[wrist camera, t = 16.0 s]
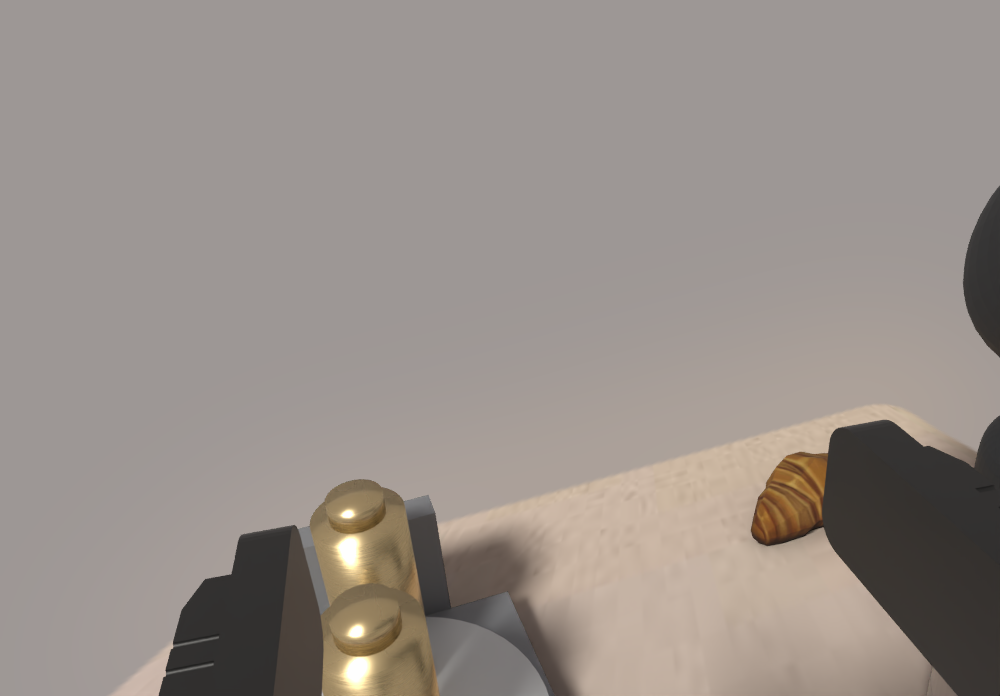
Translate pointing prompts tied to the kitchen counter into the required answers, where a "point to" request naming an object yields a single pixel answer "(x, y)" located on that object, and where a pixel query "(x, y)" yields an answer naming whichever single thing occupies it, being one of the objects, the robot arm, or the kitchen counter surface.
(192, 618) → the robot arm
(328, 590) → the weight
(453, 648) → the scale
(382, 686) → the weight
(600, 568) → the kitchen counter surface
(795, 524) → the croissant
